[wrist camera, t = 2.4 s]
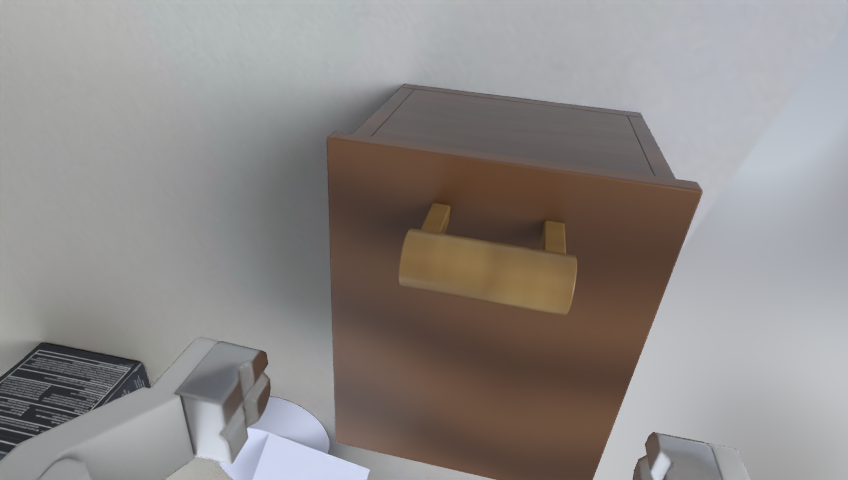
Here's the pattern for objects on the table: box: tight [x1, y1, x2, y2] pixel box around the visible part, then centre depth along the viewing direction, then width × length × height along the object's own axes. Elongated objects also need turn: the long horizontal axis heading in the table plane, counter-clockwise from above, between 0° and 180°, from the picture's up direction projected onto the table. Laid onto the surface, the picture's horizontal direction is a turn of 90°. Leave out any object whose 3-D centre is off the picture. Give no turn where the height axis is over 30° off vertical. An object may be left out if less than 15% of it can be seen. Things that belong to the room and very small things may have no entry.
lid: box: [327, 131, 703, 480], centre depth 20 cm, size 16×13×5 cm
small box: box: [0, 343, 150, 461], centre depth 43 cm, size 11×6×10 cm, turn 87°
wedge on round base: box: [218, 397, 370, 480], centre depth 43 cm, size 9×7×13 cm
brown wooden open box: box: [354, 84, 676, 179], centre depth 27 cm, size 16×13×11 cm
